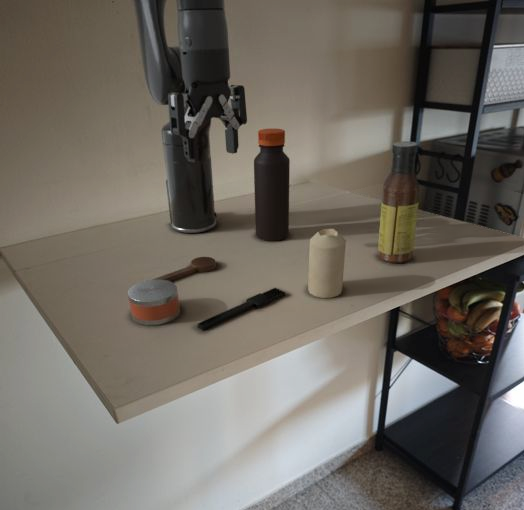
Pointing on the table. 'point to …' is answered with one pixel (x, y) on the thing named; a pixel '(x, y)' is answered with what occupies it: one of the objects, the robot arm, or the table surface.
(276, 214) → the vinegar
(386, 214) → the sauce bottle
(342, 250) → the candle
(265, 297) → the fork
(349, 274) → the table surface
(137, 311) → the tin can
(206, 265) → the spoon
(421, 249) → the table surface
